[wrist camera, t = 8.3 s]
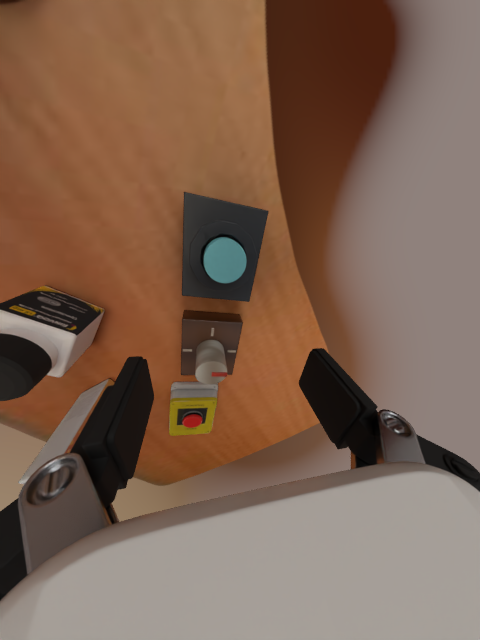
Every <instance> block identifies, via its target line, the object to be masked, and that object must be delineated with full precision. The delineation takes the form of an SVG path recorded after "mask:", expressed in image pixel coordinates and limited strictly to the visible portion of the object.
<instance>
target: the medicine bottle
mask: <svg viewBox="0 0 480 640" xmlns="http://www.w3.org/2000/svg"><path fill="white" fill-rule="evenodd" d="M103 314H104V309H103V308H100V307H97V306H95V305H92V304H90V303H87V302H85V301H82V300H80V299H77V298H75V297H72V296H70V295H67V294H65V293H62V292H60V291H57V290H55V289H52V288H50V287H47V286H42V287H39V288H37V289H34V290H32V291H30V292H27V293H25V294H22V295H20V296H17V297H15V298H13V299H10V300H8V301H5V302H3V303H0V401H6V400H11V399H15V398H19V397H22V396H24V395H26V394H27V393H28V392H29V391H30V390H31V389H32V388H33V387H34V386H35V385H36V384H37V383H39V382H40V381H41V380H42V379H43V378H44V377H45V376H46V375H50V376H54V377H62V376H63V375H64V374H65V373H66V372H67V371H68V369H69V368H70V367H71V366H72V365H73V364H74V363H75V362H76V361H77V359H78V358H79V357H80V356H81V355H82V354H83V353H84V352H85V351H86V350H87V348H88V347H89V346H90V345H91V344H92V341H93V339H94V336H95V334H96V331H97V329H98V326H99V324H100V321H101V319H102V316H103Z"/></svg>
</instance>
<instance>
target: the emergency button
mask: <svg viewBox="0 0 480 640" xmlns="http://www.w3.org/2000/svg"><path fill="white" fill-rule="evenodd" d="M217 391H218V384H217V383H216V384H210V385H209V384H203V383H201V382H174V383H173V384H172V386H171V399H170V421H169V434H170V435H172V436H175V435H189V434H204V433H209V432H211V429H212V424H213V419H214V415H215V410H216V405H217Z"/></svg>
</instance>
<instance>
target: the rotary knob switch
mask: <svg viewBox="0 0 480 640" xmlns="http://www.w3.org/2000/svg"><path fill="white" fill-rule="evenodd" d="M242 324H243V323H242V320H241V317H240V315H239V314H227V313H214V312H200V311H187V310H184V313H183V318H182V349H181V375H195V368H196V350H197V347H198V345H199V344H200V343H202V342H203V341H206V340H216V341H218V342H220V343H221V344H222V345H223V348H224V353H225V360H226V366H227V375H232V373H233V368H234V363H235V358H236V353H237V349H238V344H239V339H240V334H241V329H242Z"/></svg>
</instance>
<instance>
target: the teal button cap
mask: <svg viewBox="0 0 480 640" xmlns="http://www.w3.org/2000/svg"><path fill="white" fill-rule="evenodd" d="M204 268H205V270H206V272H207V274H208V275H209V276H210V277H211V278H212V279H213V280H215V281H217V282H219V283H231V282H234V281H236V280H237V279H238V278H240V277H241V276H242V274H243V273H244V271H245V268H246V254H245V252H244V250H243V248H242V247H241V246H240V245H239V244H238V243H237V242H235V241H234V240H232V239H230V238H227V237H220V238H216V239H214V240H212V241H211V242H210V243H209V244H208V245H207V247H206V249H205V251H204Z"/></svg>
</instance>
